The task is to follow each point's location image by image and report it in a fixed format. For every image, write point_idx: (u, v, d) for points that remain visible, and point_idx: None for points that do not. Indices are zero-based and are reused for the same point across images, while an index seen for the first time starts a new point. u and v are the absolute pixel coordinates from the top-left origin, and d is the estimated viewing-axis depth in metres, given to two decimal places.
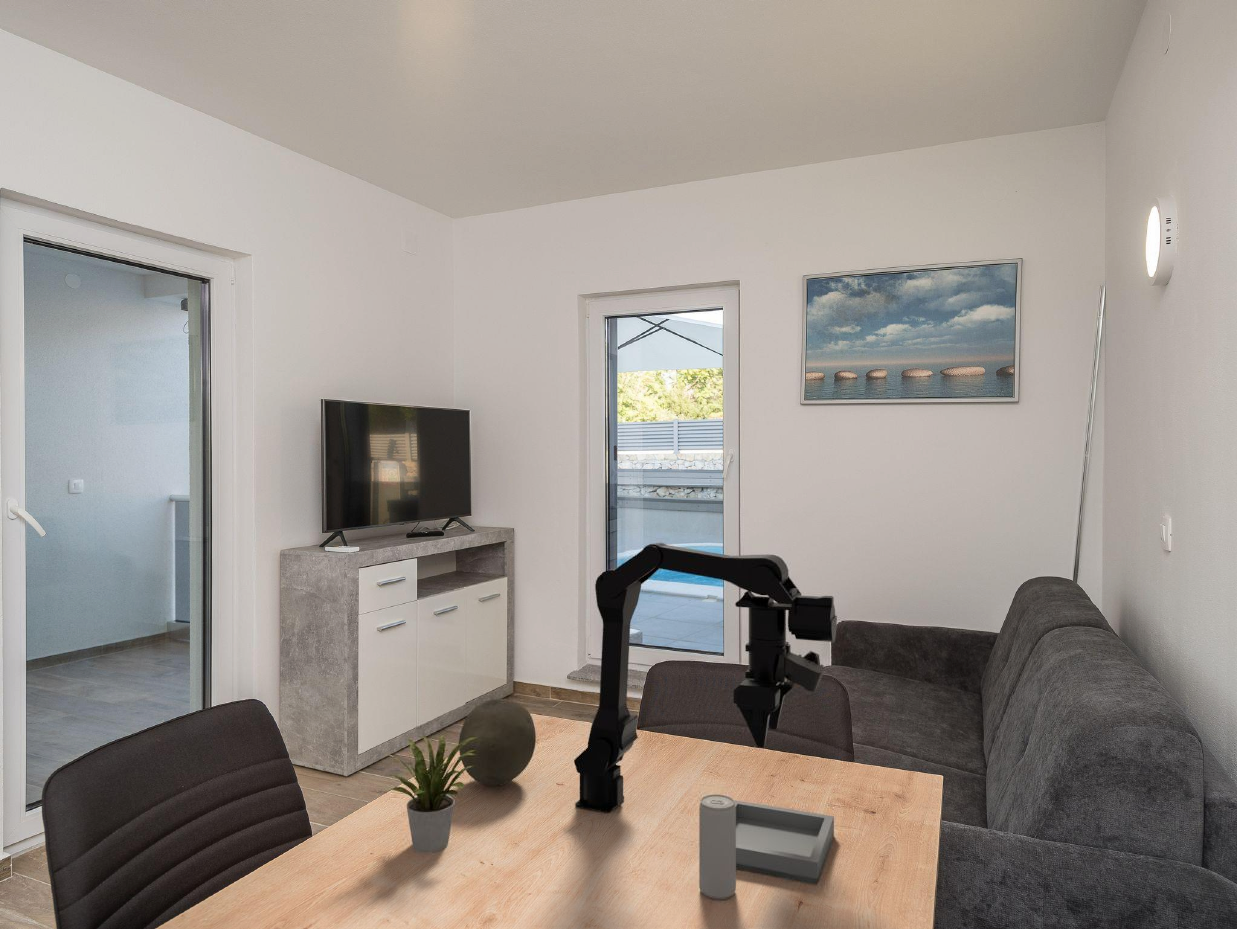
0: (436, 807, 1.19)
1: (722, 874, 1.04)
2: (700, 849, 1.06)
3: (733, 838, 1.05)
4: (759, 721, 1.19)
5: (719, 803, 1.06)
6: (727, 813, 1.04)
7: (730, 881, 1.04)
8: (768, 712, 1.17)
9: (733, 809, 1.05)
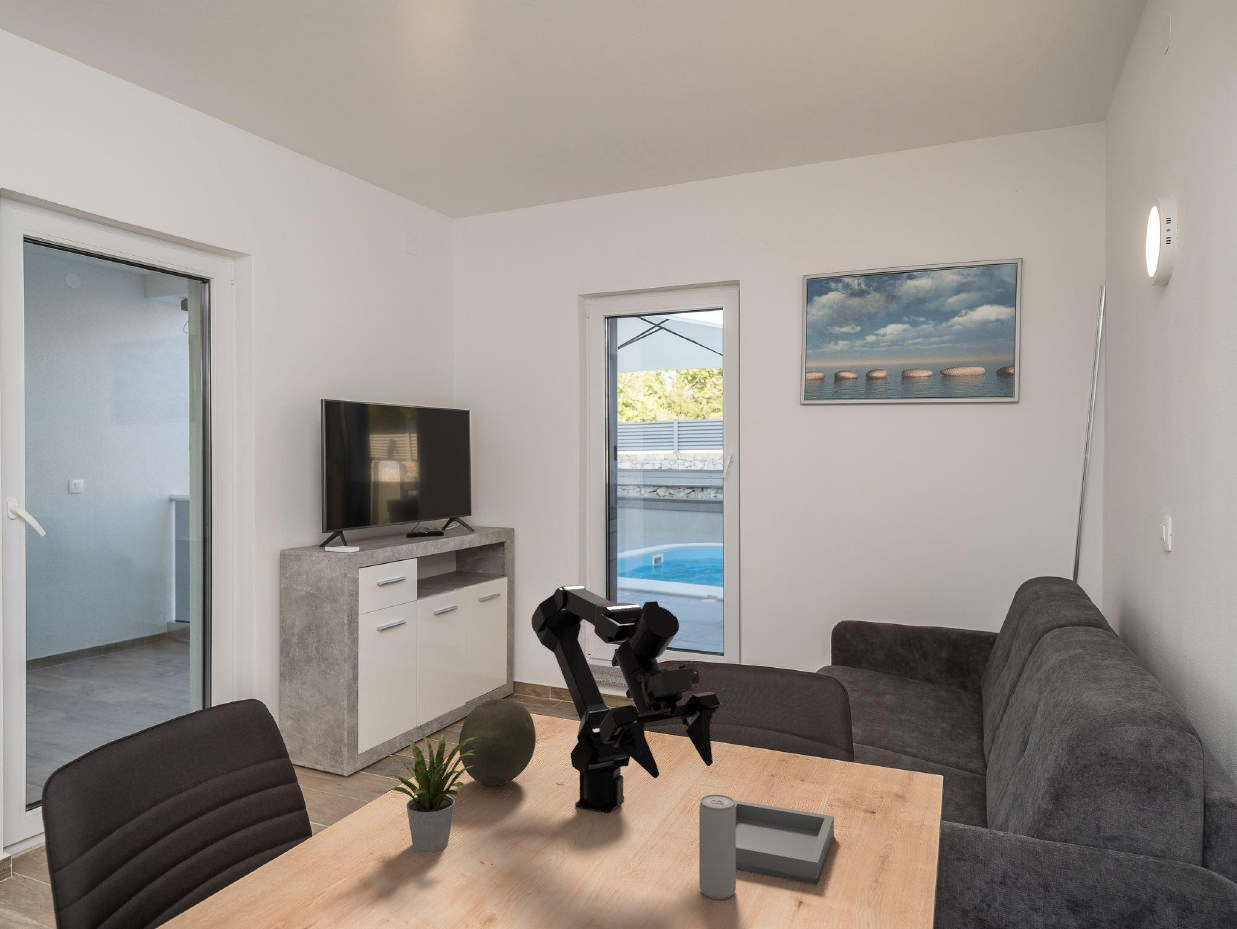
0: (436, 807, 1.19)
1: (722, 874, 1.04)
2: (700, 849, 1.06)
3: (733, 838, 1.05)
4: (639, 750, 1.13)
5: (719, 803, 1.06)
6: (727, 813, 1.04)
7: (730, 881, 1.04)
8: (633, 734, 1.13)
9: (733, 809, 1.05)
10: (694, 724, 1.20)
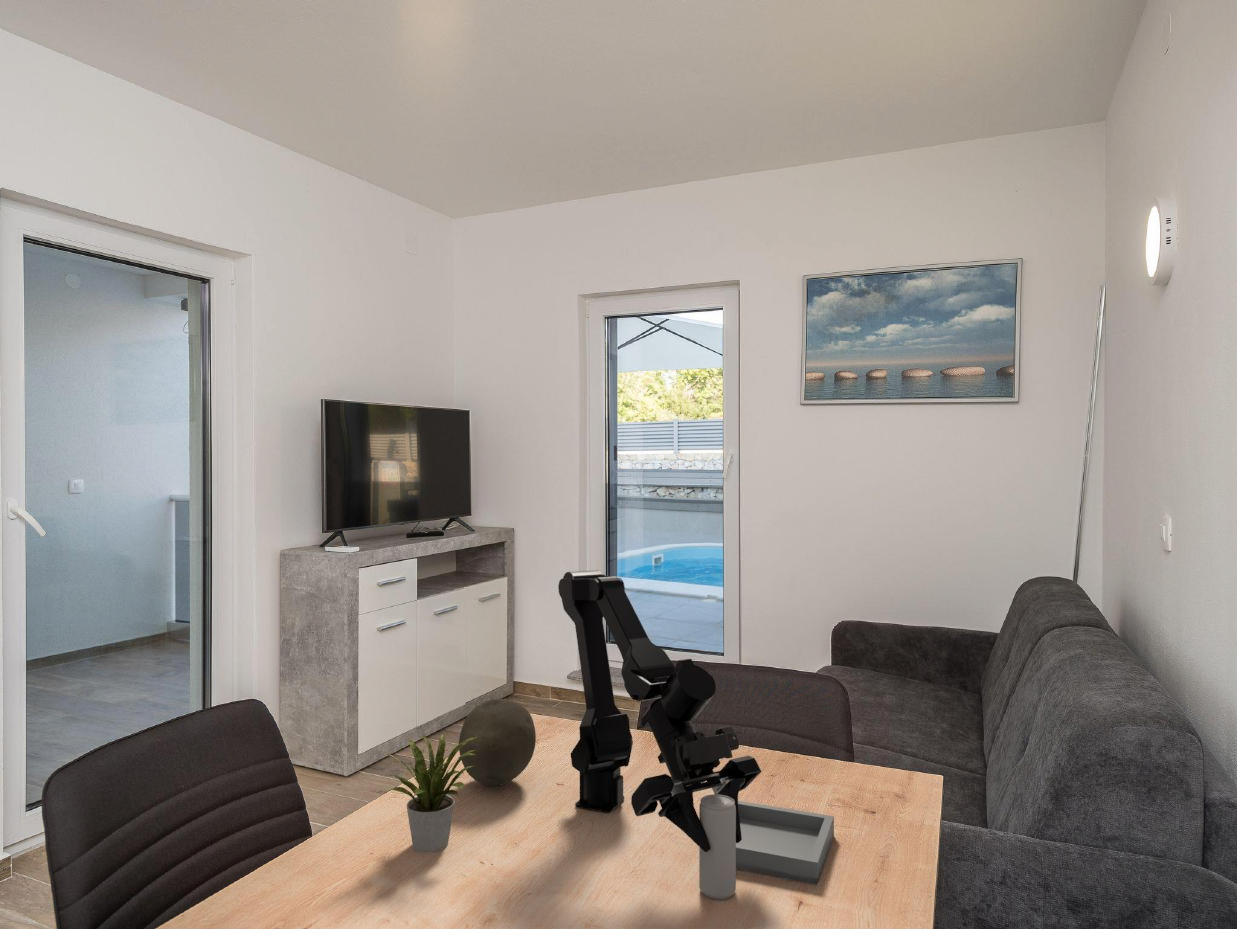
0: (436, 807, 1.19)
1: (722, 873, 1.04)
2: (700, 849, 1.06)
3: (733, 838, 1.05)
4: (688, 821, 1.06)
5: (720, 803, 1.06)
6: (727, 813, 1.04)
7: (730, 881, 1.04)
8: (681, 804, 1.05)
9: (733, 809, 1.05)
10: None
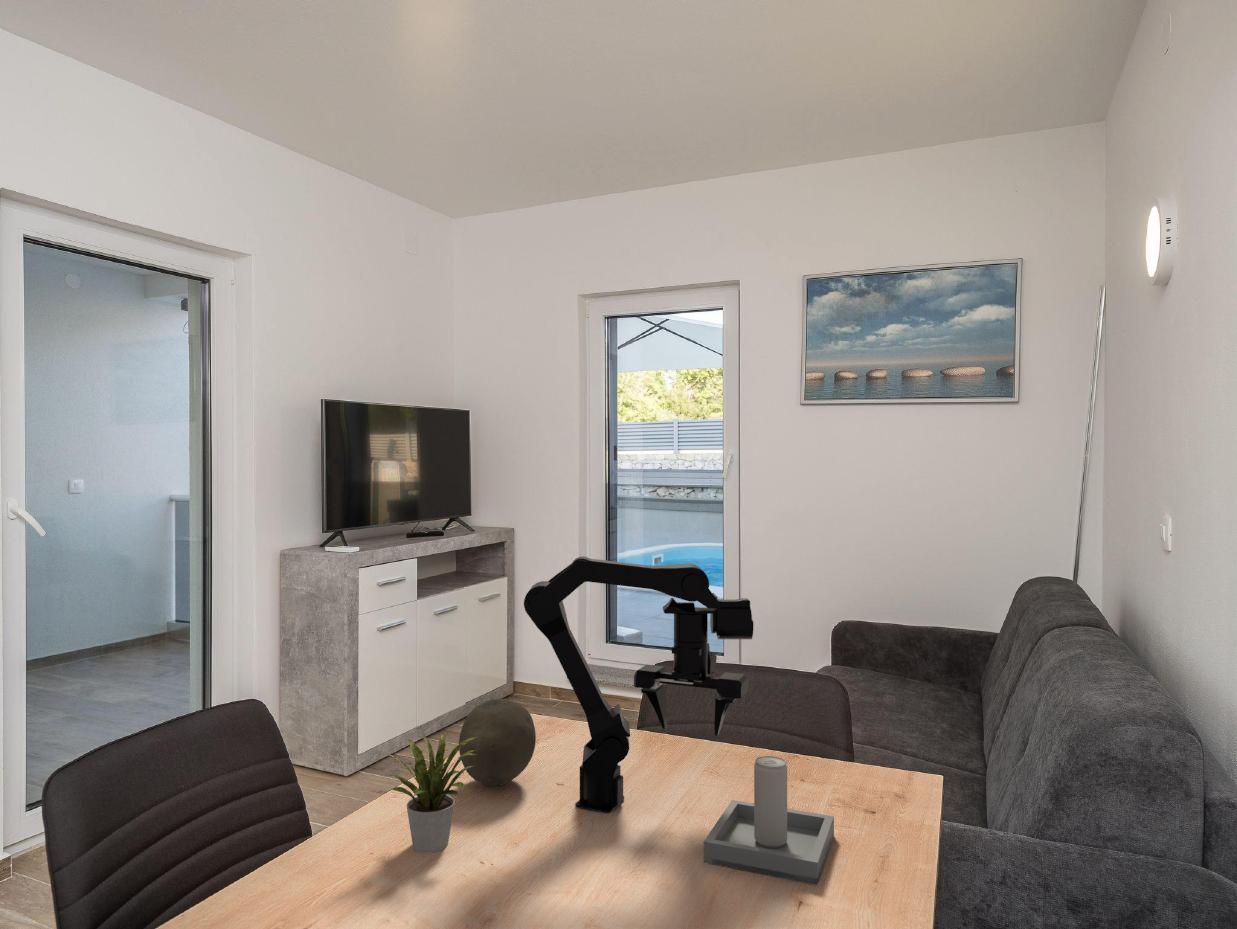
0: (436, 807, 1.19)
1: (782, 823, 1.17)
2: (760, 807, 1.17)
3: None
4: (723, 711, 1.33)
5: (773, 762, 1.19)
6: (785, 770, 1.18)
7: (786, 829, 1.18)
8: None
9: (786, 765, 1.19)
10: (661, 690, 1.37)
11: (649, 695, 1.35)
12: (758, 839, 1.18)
